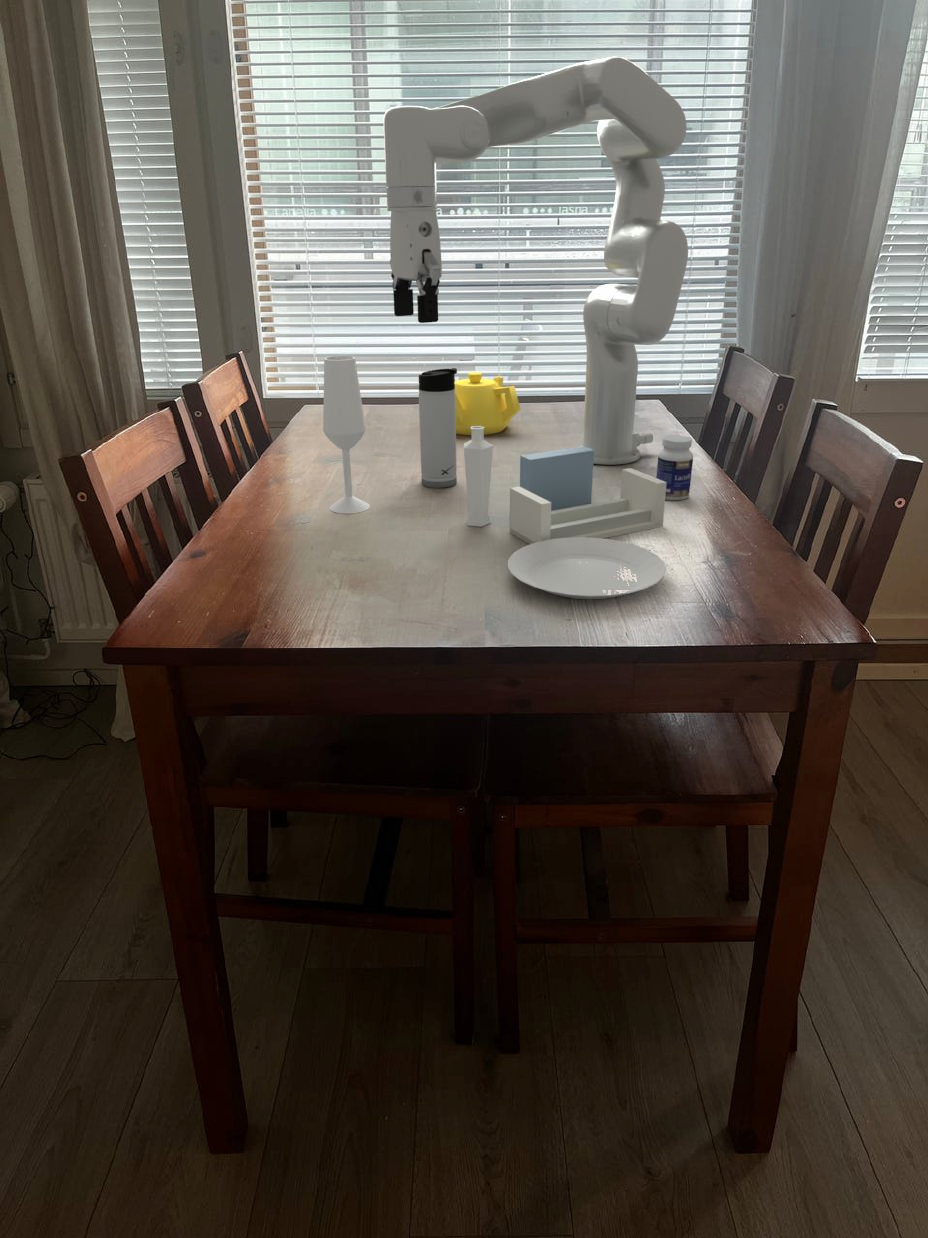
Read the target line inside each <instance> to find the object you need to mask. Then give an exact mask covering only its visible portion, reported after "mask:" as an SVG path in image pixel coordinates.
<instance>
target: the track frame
mask: <svg viewBox="0 0 928 1238" xmlns="http://www.w3.org/2000/svg"><path fill="white" fill-rule="evenodd" d="M620 483H621V484H620V498H616V499H610V500H606V501H605V500H604V501H600V502H594V503H590V504H584V505H579V506H573V507H568V508H562V509H557V510H551V502H549V501H547V500H545V499H543V498H541V497H539V496H537V495H535V494H533V493H531V492H529V491H528V490H526V489H524V488H522V487H520V485H519V486H513V487H509V533H510V534H512V535H513V536H515V537H516V538H518V539H519V540H521V541H523V542H525V543H526V544H527V545H530V544H533V543H536V542H540V541H545V540H550V539H558V538H573V537H587V538H602V539H608V538H611V537H617V536H621V535H625V534H626V535H627V534H631V533H637V532H642V531H646V530H652V529H656V528H661V527H664V517H665V516H664V515H665V507H666V506H665V504H666V503H665V502H666V500H665V495H666V483H667V482H665V481H662V480H660V479H657V478H656V477H654V476H651V475H650V474H646V473H644V472H642V471H638V470H636V469H635V468H631V467H628V468H623V469H622V470H621V482H620Z"/></svg>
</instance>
